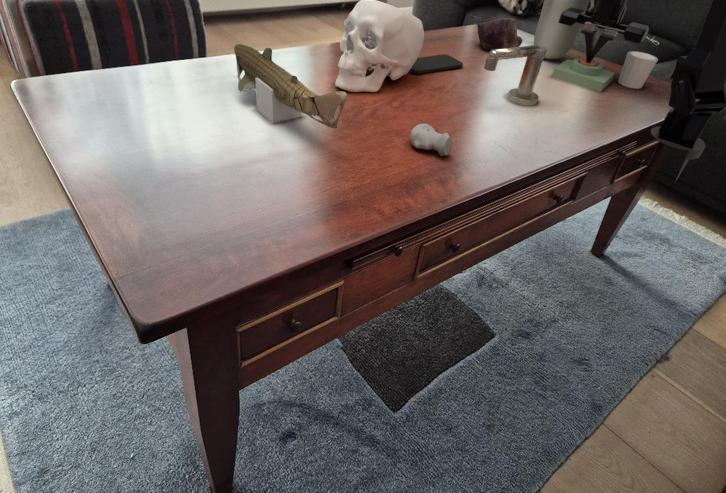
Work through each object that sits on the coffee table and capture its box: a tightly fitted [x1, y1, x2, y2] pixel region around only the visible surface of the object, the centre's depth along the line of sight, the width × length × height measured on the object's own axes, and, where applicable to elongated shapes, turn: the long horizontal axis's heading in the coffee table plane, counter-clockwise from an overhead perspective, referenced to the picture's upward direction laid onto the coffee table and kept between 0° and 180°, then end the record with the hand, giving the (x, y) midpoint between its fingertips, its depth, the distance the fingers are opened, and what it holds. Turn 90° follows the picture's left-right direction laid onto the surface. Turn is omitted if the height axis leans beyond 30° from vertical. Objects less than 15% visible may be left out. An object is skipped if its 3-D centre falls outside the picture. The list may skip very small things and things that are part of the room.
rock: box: [476, 17, 523, 52], centre depth 127 cm, size 12×9×10 cm
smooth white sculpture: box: [409, 123, 453, 157], centre depth 82 cm, size 4×8×5 cm
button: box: [579, 59, 597, 67], centre depth 116 cm, size 4×4×2 cm
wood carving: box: [233, 43, 348, 129], centre depth 84 cm, size 9×35×11 cm, turn 37°
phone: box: [409, 53, 464, 75], centre depth 115 cm, size 7×1×15 cm
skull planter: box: [334, 0, 425, 93], centre depth 102 cm, size 14×20×19 cm
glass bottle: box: [533, 0, 591, 60], centre depth 120 cm, size 10×10×28 cm
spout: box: [483, 44, 547, 72], centre depth 96 cm, size 15×3×4 cm, turn 119°
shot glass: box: [617, 50, 659, 90], centre depth 116 cm, size 7×7×7 cm
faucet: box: [507, 56, 544, 107], centre depth 102 cm, size 6×6×9 cm
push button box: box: [551, 57, 616, 93], centre depth 117 cm, size 12×10×4 cm
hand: (588, 62), depth 116 cm, fingers closed, pressing on button
